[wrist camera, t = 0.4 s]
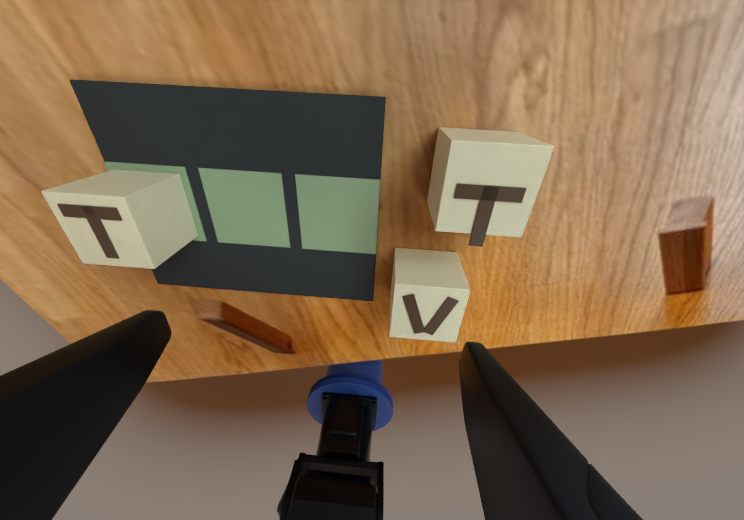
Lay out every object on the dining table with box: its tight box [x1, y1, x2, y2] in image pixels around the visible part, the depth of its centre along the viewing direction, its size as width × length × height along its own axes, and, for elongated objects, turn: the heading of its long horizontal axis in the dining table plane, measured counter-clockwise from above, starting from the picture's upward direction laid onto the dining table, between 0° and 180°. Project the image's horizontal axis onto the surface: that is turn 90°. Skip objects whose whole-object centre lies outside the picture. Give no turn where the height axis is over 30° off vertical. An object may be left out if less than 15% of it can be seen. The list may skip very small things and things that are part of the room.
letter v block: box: [389, 248, 470, 342], centre depth 22 cm, size 5×5×5 cm
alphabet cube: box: [41, 170, 198, 269], centre depth 20 cm, size 5×5×5 cm
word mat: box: [70, 80, 385, 301], centre depth 22 cm, size 16×20×1 cm
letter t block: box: [427, 127, 554, 246], centre depth 17 cm, size 6×5×5 cm
